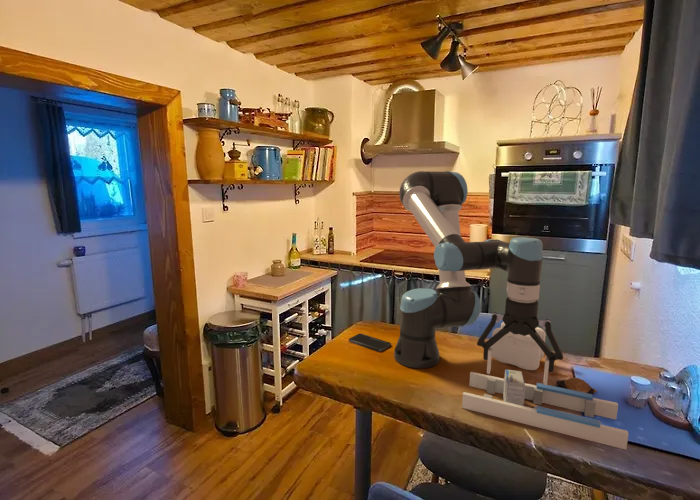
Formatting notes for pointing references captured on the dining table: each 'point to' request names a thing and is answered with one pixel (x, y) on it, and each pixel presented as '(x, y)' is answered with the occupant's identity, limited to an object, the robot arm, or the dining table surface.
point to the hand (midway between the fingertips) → (516, 377)
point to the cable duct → (549, 410)
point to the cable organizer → (518, 349)
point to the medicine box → (514, 387)
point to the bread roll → (576, 385)
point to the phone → (370, 342)
